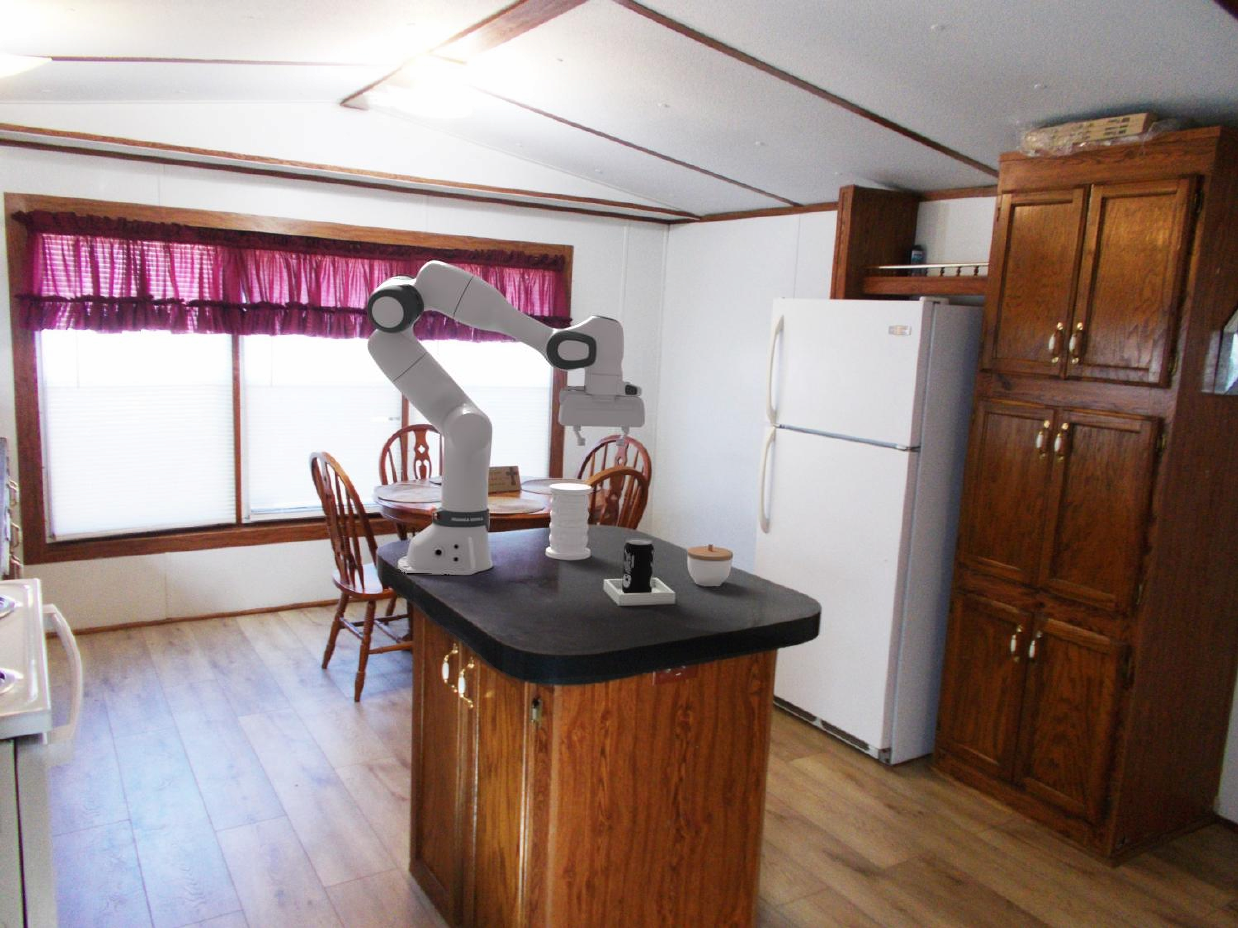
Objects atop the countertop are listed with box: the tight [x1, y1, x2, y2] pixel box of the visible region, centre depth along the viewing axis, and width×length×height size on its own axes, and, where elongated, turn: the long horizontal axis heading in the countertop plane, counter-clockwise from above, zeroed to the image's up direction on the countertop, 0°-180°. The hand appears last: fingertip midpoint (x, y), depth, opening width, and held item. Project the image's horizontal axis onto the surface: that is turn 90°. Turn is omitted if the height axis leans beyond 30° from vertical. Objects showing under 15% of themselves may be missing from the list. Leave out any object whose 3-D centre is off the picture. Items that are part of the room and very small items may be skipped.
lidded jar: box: [686, 543, 734, 587], centre depth 214 cm, size 11×11×9 cm
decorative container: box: [545, 482, 592, 561], centre depth 236 cm, size 12×12×18 cm
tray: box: [602, 577, 676, 607], centre depth 201 cm, size 13×13×2 cm
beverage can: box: [621, 537, 655, 594], centre depth 200 cm, size 7×7×12 cm
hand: (600, 445), depth 214 cm, fingers open, 8 cm apart
